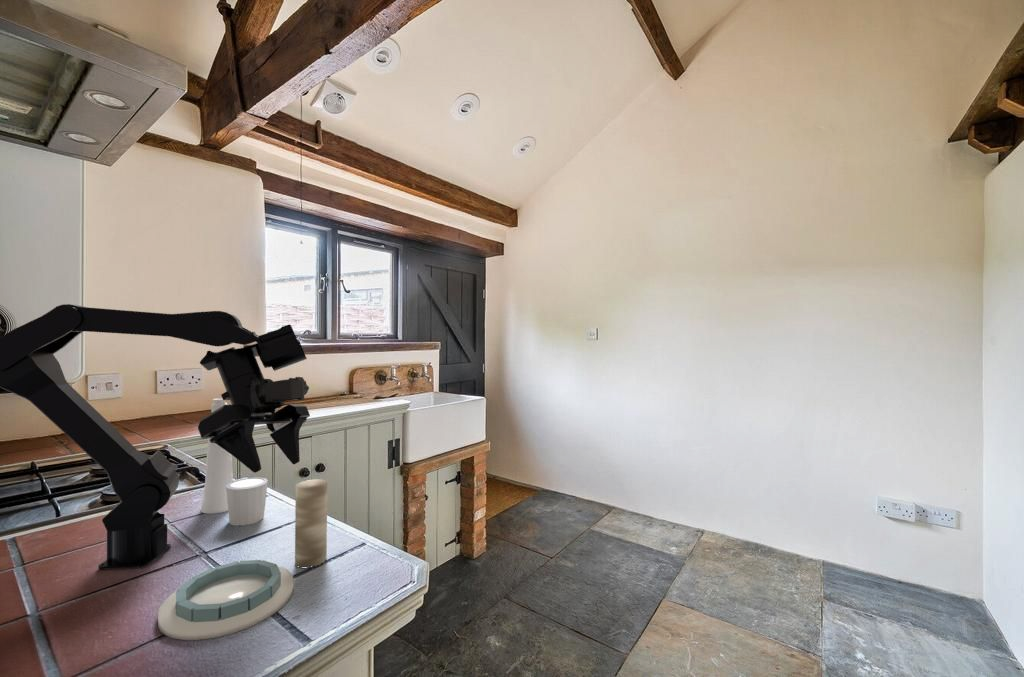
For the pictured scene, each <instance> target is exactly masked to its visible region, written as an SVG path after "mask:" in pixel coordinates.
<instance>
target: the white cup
mask: <svg viewBox="0 0 1024 677" xmlns="http://www.w3.org/2000/svg"><path fill="white" fill-rule="evenodd" d="M268 481H269V480H268V479H267V478H264V477H255V476H254V477H245V478H240V479H236V480H233V482H230V483H229V484H227V485H226V493H227V503H228V511H227V512H228V521H229V523H230V525H232V526H238V525H241V526H240V527H242V526H249V525H252V524H256V523H258V522H261V521H262V520H263V519H264V518H265V512H266V511H265V510H266V501H267V493H268V492H267V490H268ZM263 517H264V518H263ZM261 519H262V520H261ZM238 527H239V526H238Z"/></svg>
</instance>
